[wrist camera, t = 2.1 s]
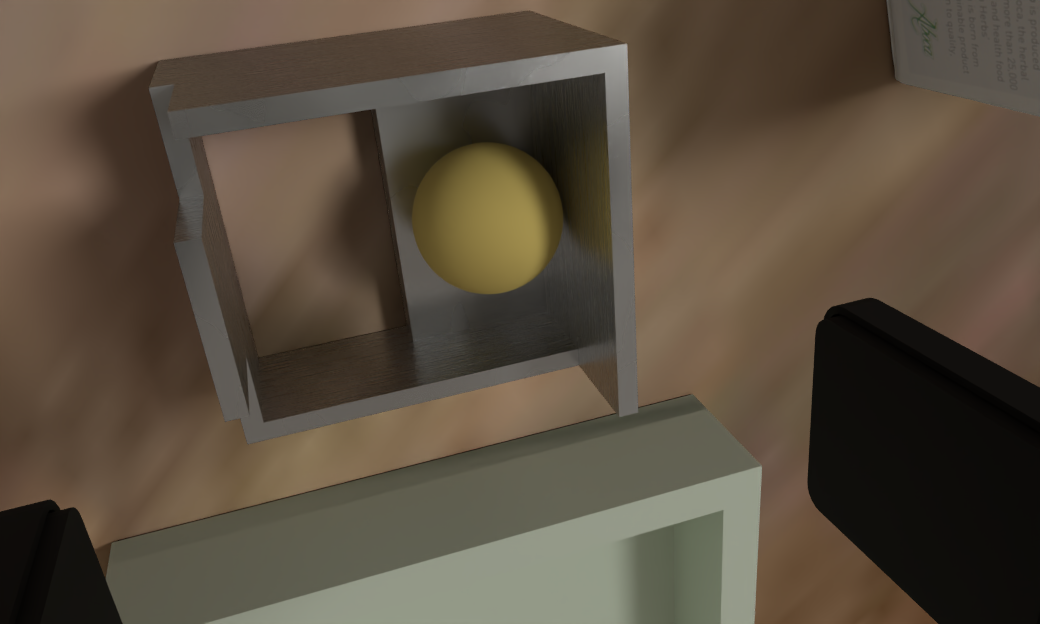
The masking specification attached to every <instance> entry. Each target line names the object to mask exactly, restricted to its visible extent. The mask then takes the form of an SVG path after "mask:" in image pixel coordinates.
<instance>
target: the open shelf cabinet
mask: <svg viewBox="0 0 1040 624" xmlns="http://www.w3.org/2000/svg"><path fill="white" fill-rule="evenodd" d="M149 91H150V95H151V99H152V102H153V106H154V109H155V113H156V117H157V120H158V124H159V127H160V131H161V135H162V138H163V142H164V145H165V149H166V153H167V156H168V160H169V163H170V167H171V171H172V174H173V178H174V181H175V185H176V189H177V192H178V196H179V199H180V200H179V207H178V214H177V222H176V229H175V236H174V246H175V250H176V253H177V257H178V260H179V264H180V267H181V270H182V274H183V277H184V281H185V284H186V288H187V291H188V295H189V298H190V302H191V305H192V309H193V312H194V316H195V319H196V323H197V326H198V330H199V333H200V336H201V340H202V343H203V347H204V350H205V354H206V357H207V361H208V364H209V368H210V371H211V375H212V378H213V382H214V385H215V389H216V392H217V396H218V399H219V402H220V406H221V409H222V413H223V416H224V420H225V422H226V421H231V420H235V419H239V418H240V419H241V423H242V426H243V430H244V434H245V437H246V441H247V444H251V443H255V442H260V441H264V440H268V439H272V438H276V437H280V436H285V435H289V434H293V433H297V432H301V431H306V430H310V429H314V428H318V427H322V426H326V425H331V424H335V423H339V422H343V421H347V420H352V419H356V418H360V417H364V416H368V415H372V414H377V413H381V412H385V411H389V410H393V409H398V408H402V407H406V406H410V405H414V404H418V403H423V402H427V401H431V400H435V399H439V398H444V397H448V396H452V395H456V394H460V393H464V392H469V391H473V390H477V389H481V388H485V387H490V386H494V385H498V384H502V383H506V382H510V381H515V380H519V379H523V378H527V377H531V376H536V375H540V374H544V373H548V372H552V371H556V370H561V369H565V368H569V367H573V366H577V365H579V366H580V368H581V369H582V370H583V371H584V373H585V374H586V375H587V376H588V378H589V379H590V380H591V382H592V383H593V384H594V385H595V387H596V388H597V389H598V391H599V392H600V393H601V394H602V396H603V397H604V398H605V400H606V401H607V402H608V403H609V405H610V406H611V407H612V409H613V410H614V411H615V412H616V414H617V415H618V416H619V417H622V416H626V415H630V414H634V413H638V389H637V355H636V321H635V288H634V254H633V220H632V187H631V153H630V120H629V86H628V52H627V43H624V42H621V41H618V40H615V39H612V38H609V37H606V36H603V35H600V34H597V33H594V32H591V31H588V30H585V29H583V28H580V27H577V26H574V25H571V24H568V23H565V22H562V21H559V20H556V19H553V18H550V17H547V16H544V15H541V14H538V13H535V12H533V11H523V12H516V13H508V14H501V15H494V16H486V17H479V18H471V19H464V20H457V21H449V22H442V23H434V24H427V25H420V26H412V27H405V28H398V29H390V30H383V31H375V32H368V33H361V34H353V35H346V36H338V37H331V38H324V39H316V40H309V41H302V42H294V43H287V44H279V45H272V46H265V47H257V48H250V49H242V50H235V51H228V52H220V53H213V54H206V55H198V56H191V57H183V58H176V59H169V60H161V61H159V62H158V65H157V67H156V70H155V72H154V75H153V78H152V80H151V83H150V85H149ZM364 110H371V112H372V118H373V124H374V130H375V136H376V142H377V148H378V154H379V160H380V166H381V173H382V179H383V185H384V191H385V197H386V203H387V209H388V215H389V221H390V227H391V233H392V239H393V245H394V252H395V258H396V264H397V270H398V276H399V282H400V288H401V294H402V300H403V306H404V312H405V318H406V324H407V326H404V327H400V328H395V329H390V330H386V331H381V332H377V333H372V334H367V335H363V336H358V337H354V338H349V339H344V340H340V341H335V342H331V343H326V344H321V345H317V346H312V347H307V348H303V349H298V350H294V351H289V352H284V353H280V354H275V355H271V356H266V357H261V358H258V355H257V351H256V348H255V344H254V340H253V336H252V332H251V328H250V324H249V320H248V316H247V313H246V309H245V305H244V301H243V297H242V293H241V289H240V285H239V281H238V278H237V274H236V270H235V266H234V262H233V258H232V254H231V250H230V246H229V242H228V239H227V235H226V231H225V227H224V223H223V219H222V215H221V211H220V207H219V204H218V200H217V196H216V192H215V188H214V184H213V180H212V176H211V172H210V169H209V165H208V161H207V157H206V153H205V149H204V145H203V141H202V137H201V136H204V135H211V134H217V133H224V132H230V131H236V130H243V129H249V128H256V127H262V126H268V125H275V124H281V123H288V122H294V121H300V120H307V119H313V118H320V117H326V116H332V115H339V114H345V113H352V112H358V111H364ZM481 142H493V143H501V144H506V145H509V146H512V147H515V148H517V149H519V150H522V151H524V152H525V153H527V154H528V155H530V156H531V157H533V158H534V159H535V160H537V161H538V162H539V163H540V164H541V165H542V166H543V167H544V169H545V170H546V171H547V172H548V174H549V175H550V176H551V178H552V180H553V181H554V183H555V185H556V187H557V190H558V192H559V195H560V199H561V202H562V208H563V229H562V235H561V239H560V242H559V245H558V248H557V250H556V252H555V254H554V256H553V257H552V259H551V261H550V262H549V264H548V265H547V266H546V267H545V269H544V270H543V271H542V272H541V273H540V274H539V275H538V276H536V277H535V278H534V279H533V280H531V281H530V282H528V283H527V284H525V285H523V286H521V287H519V288H517V289H514V290H511V291H508V292H504V293H499V294H477V293H472V292H467V291H465V290H462V289H459V288H457V287H455V286H453V285H451V284H449V283H447V282H446V281H445V280H443V279H442V278H441V277H439V276H438V275H437V274H436V273H435V272H434V271H433V270H432V269H431V268H430V267H429V265H428V264H427V263H426V261H425V260H424V258H423V257H422V255H421V253H420V251H419V249H418V246H417V244H416V241H415V237H414V233H413V227H412V209H413V203H414V198H415V195H416V192H417V189H418V187H419V185H420V183H421V181H422V179H423V178H424V176H425V174H426V173H427V172H428V171H429V169H430V168H431V167H432V166H433V165H434V164H435V163H436V162H437V161H438V160H439V159H441V158H442V157H443V156H445V155H446V154H448V153H450V152H451V151H453V150H455V149H458V148H460V147H463V146H466V145H469V144H473V143H481Z"/></svg>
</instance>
